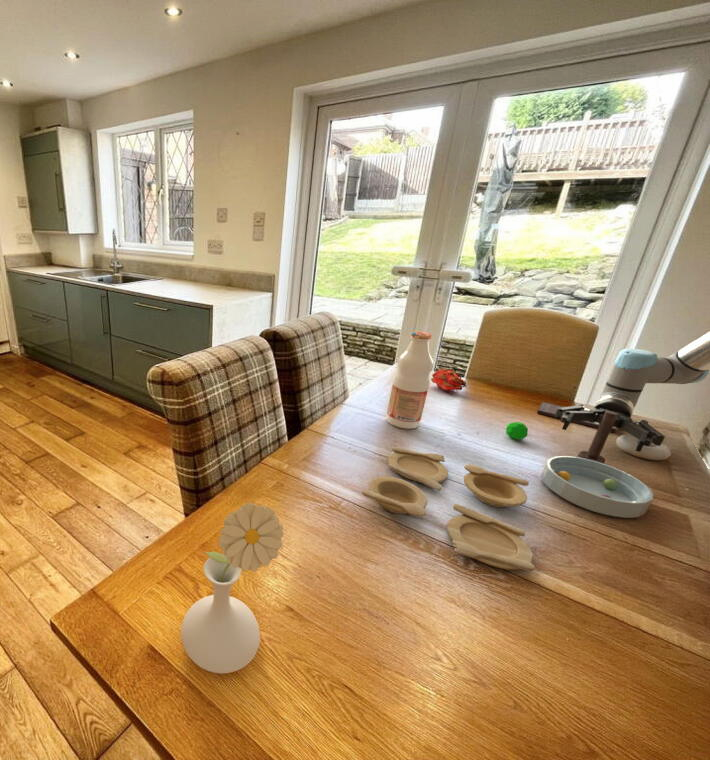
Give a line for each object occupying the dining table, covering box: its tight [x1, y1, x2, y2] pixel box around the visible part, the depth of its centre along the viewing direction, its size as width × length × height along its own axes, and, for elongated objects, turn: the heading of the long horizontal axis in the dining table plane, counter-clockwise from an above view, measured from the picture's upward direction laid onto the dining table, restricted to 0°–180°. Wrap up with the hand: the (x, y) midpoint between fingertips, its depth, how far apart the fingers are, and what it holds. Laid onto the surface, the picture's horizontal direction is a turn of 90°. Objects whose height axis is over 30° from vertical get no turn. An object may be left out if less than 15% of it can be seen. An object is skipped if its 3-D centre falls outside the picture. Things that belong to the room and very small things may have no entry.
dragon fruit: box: [430, 367, 467, 394], centre depth 143 cm, size 8×8×12 cm
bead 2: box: [603, 479, 618, 490], centre depth 89 cm, size 2×2×2 cm
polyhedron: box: [505, 421, 529, 441], centre depth 111 cm, size 5×5×5 cm
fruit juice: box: [385, 331, 434, 430], centre depth 115 cm, size 9×9×28 cm
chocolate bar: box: [537, 401, 617, 433], centre depth 123 cm, size 9×1×18 cm
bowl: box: [541, 455, 654, 519], centre depth 88 cm, size 17×17×4 cm
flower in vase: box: [180, 502, 285, 674], centre depth 53 cm, size 13×11×25 cm
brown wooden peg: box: [577, 411, 618, 464], centre depth 99 cm, size 5×5×14 cm
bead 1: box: [557, 471, 571, 481], centre depth 92 cm, size 2×2×2 cm
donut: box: [615, 433, 672, 461], centre depth 105 cm, size 10×4×10 cm
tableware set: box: [361, 446, 535, 572], centre depth 85 cm, size 35×29×4 cm
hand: (601, 435), depth 98 cm, fingers open, 13 cm apart
